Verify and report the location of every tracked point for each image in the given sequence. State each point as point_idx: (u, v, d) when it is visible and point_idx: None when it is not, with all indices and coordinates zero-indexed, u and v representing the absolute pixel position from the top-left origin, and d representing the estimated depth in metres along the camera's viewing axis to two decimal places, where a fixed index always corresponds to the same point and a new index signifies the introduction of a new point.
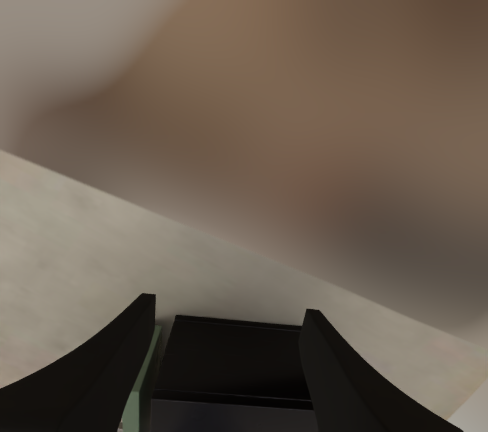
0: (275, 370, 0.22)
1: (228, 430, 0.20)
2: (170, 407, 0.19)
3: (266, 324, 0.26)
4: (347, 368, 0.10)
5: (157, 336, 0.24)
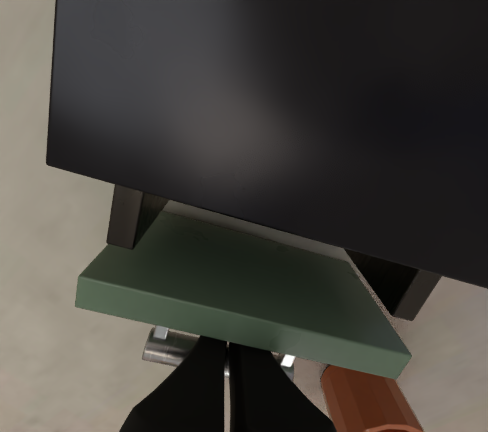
0: None
1: None
2: (77, 116, 0.06)
3: None
4: (246, 360, 0.09)
5: None
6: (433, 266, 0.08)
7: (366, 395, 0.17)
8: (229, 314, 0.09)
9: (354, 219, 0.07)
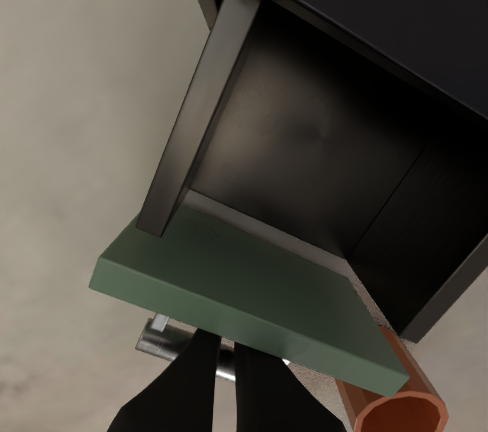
0: None
1: None
2: None
3: None
4: (254, 360, 0.09)
5: None
6: None
7: None
8: (244, 315, 0.09)
9: None
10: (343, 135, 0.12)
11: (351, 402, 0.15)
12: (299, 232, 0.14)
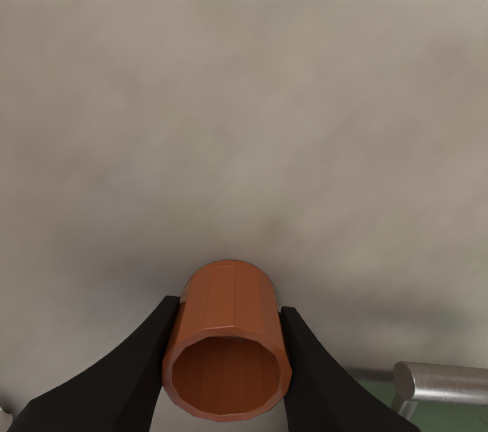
0: None
1: None
2: None
3: None
4: (313, 365, 0.10)
5: None
6: None
7: None
8: None
9: None
10: None
11: (288, 356, 0.11)
12: None
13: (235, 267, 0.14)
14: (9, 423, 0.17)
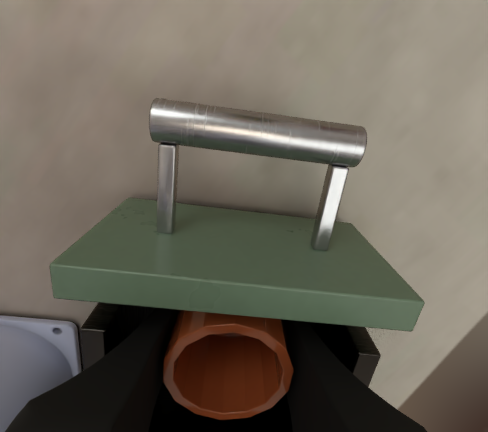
0: None
1: None
2: None
3: None
4: (317, 366, 0.10)
5: None
6: None
7: None
8: (269, 317, 0.09)
9: None
10: None
11: (290, 354, 0.11)
12: None
13: None
14: None
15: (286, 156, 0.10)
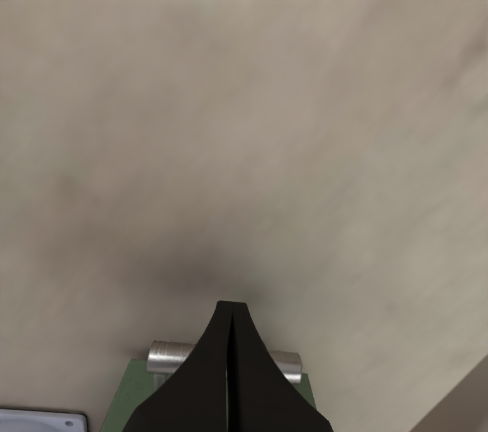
0: None
1: None
2: None
3: None
4: (243, 359, 0.09)
5: None
6: None
7: None
8: None
9: None
10: None
11: None
12: None
13: None
14: None
15: None
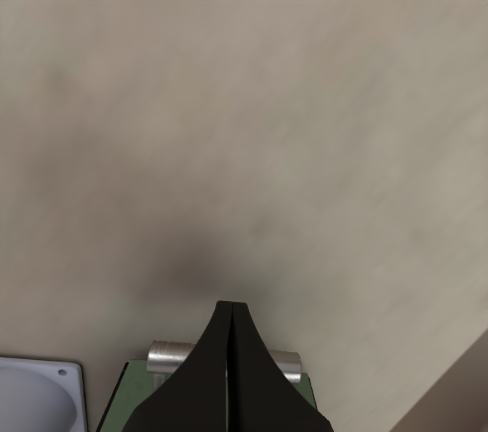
0: None
1: None
2: None
3: None
4: (244, 360, 0.09)
5: None
6: None
7: None
8: None
9: None
10: None
11: None
12: None
13: None
14: None
15: None
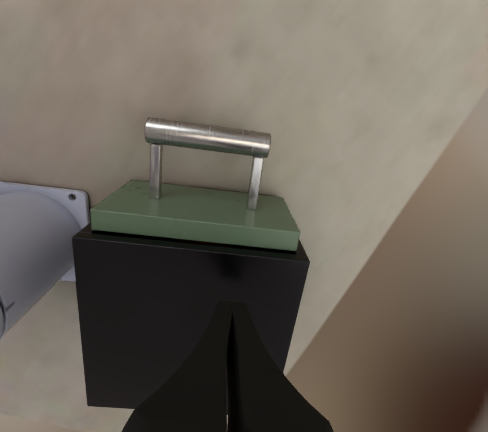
0: None
1: None
2: (294, 280, 0.16)
3: None
4: (243, 359, 0.09)
5: None
6: (123, 246, 0.15)
7: None
8: (213, 241, 0.16)
9: (173, 261, 0.15)
10: None
11: None
12: None
13: None
14: None
15: (225, 151, 0.17)
